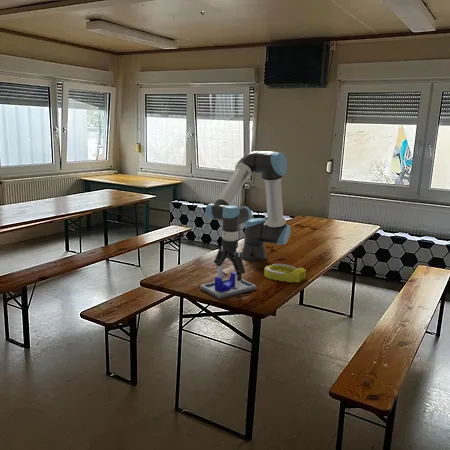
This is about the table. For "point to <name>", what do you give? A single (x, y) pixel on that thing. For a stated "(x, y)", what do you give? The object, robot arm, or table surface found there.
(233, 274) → the blue long stepped piece
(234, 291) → the tray
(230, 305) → the table surface
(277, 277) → the yellow rounded low piece
